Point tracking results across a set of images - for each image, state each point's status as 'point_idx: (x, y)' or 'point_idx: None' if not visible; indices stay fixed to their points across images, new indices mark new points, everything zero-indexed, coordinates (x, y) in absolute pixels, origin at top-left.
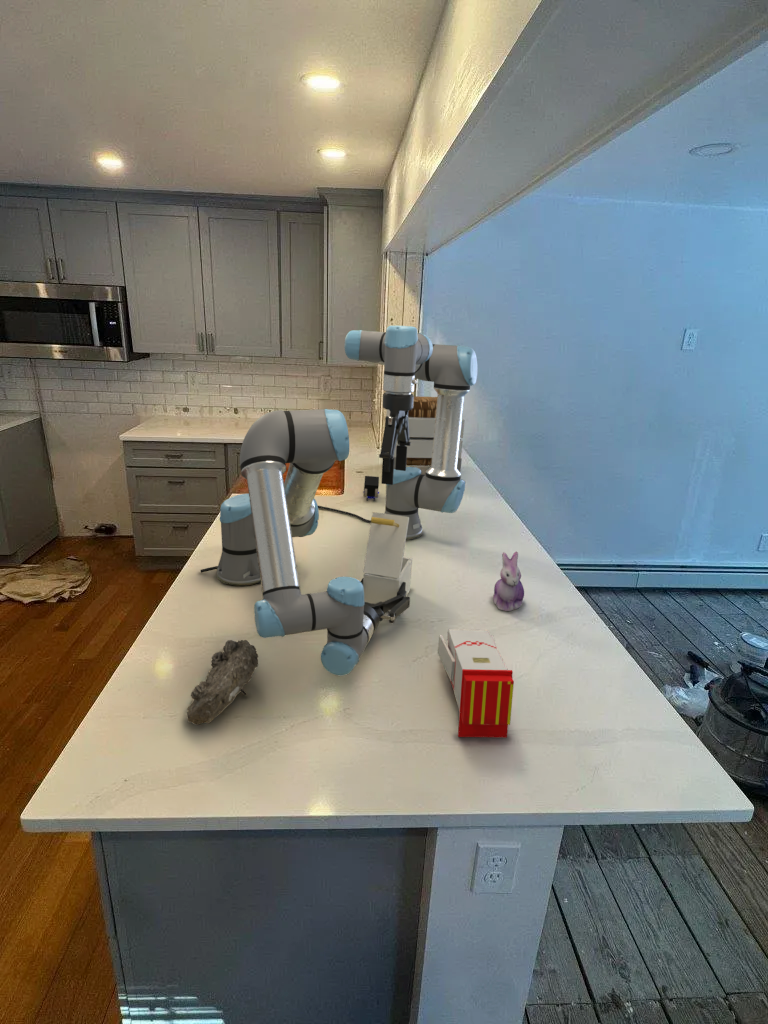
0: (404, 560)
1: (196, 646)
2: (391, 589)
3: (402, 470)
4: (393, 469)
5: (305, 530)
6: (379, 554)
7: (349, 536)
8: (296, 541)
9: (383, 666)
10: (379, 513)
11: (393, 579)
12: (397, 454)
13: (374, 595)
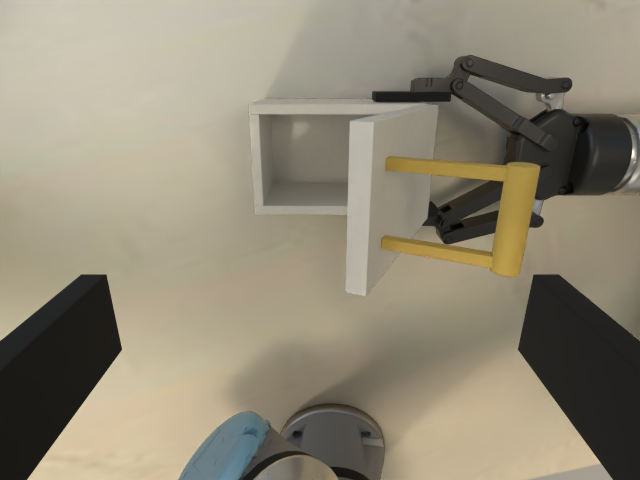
0: (260, 128)
1: None
2: None
3: (109, 297)
4: (630, 351)
5: (276, 433)
6: (416, 192)
7: None
8: (134, 422)
9: (629, 72)
10: (367, 265)
11: None
12: (37, 450)
13: None
